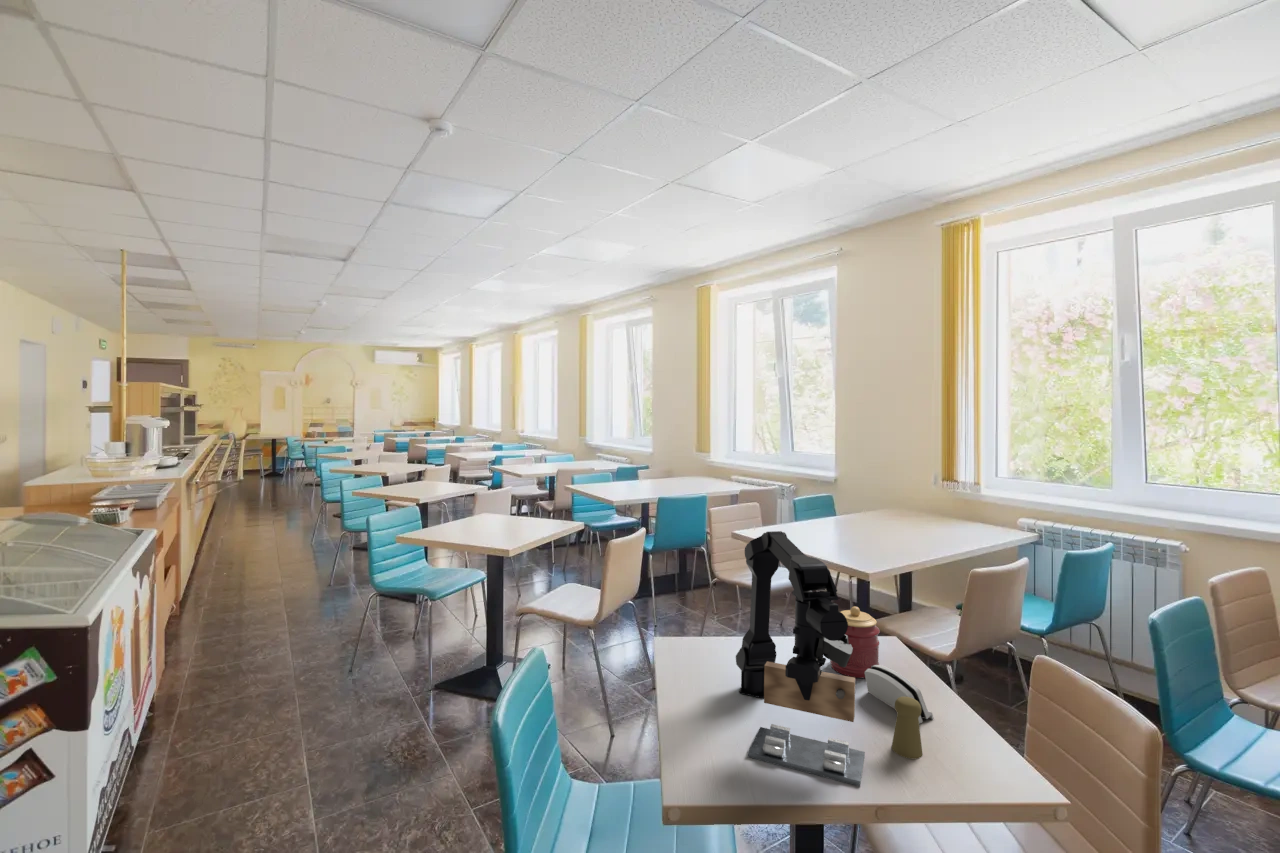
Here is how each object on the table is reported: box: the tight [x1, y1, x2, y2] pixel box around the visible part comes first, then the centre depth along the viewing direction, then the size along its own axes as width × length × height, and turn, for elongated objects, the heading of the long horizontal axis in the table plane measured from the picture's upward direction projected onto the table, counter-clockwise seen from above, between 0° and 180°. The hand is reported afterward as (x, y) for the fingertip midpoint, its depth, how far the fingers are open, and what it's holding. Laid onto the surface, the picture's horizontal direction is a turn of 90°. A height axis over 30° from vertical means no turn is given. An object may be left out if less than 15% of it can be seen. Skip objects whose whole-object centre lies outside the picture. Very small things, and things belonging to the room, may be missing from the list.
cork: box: [891, 696, 924, 760], centre depth 125 cm, size 6×6×11 cm
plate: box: [747, 723, 866, 787], centre depth 122 cm, size 22×11×4 cm, turn 65°
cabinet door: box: [763, 661, 856, 723], centre depth 121 cm, size 18×4×8 cm, turn 65°
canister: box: [829, 606, 881, 679], centre depth 165 cm, size 13×13×18 cm
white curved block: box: [864, 664, 935, 724], centre depth 144 cm, size 17×5×10 cm, turn 21°
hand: (808, 697), depth 122 cm, fingers closed on cabinet door, 2 cm apart
